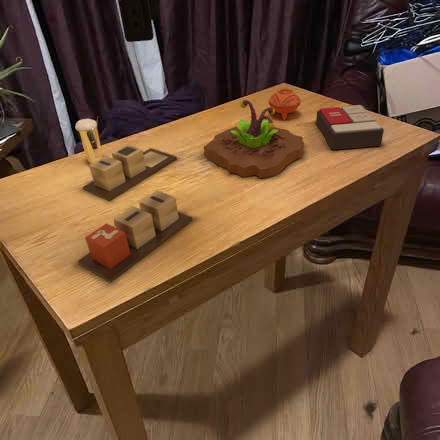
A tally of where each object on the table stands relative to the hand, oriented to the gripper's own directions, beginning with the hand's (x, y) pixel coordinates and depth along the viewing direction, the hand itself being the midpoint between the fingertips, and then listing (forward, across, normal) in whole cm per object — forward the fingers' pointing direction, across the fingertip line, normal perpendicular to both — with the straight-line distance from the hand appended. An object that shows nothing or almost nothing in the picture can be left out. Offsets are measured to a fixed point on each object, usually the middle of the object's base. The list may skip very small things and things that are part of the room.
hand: (143, 29), depth 52 cm
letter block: (+31, +5, -10) cm, 33 cm away
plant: (+32, -28, +16) cm, 46 cm away
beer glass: (+32, -30, -18) cm, 48 cm away
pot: (+32, -48, +26) cm, 63 cm away
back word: (+31, -23, -10) cm, 40 cm away
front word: (+31, 0, -7) cm, 32 cm away
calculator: (+32, -35, +39) cm, 61 cm away
